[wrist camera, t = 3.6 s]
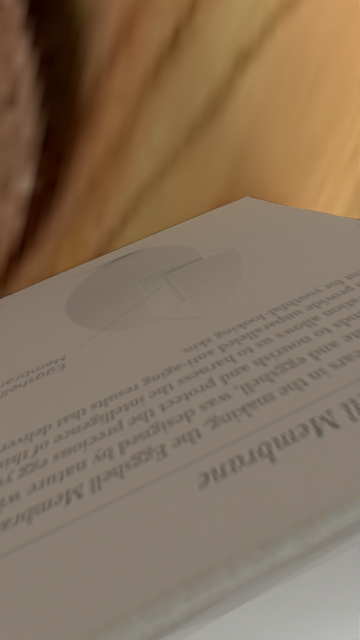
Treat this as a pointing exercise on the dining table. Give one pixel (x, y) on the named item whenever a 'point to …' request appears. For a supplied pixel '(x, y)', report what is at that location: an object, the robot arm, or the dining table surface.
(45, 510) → the skincare box
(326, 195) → the dining table surface
